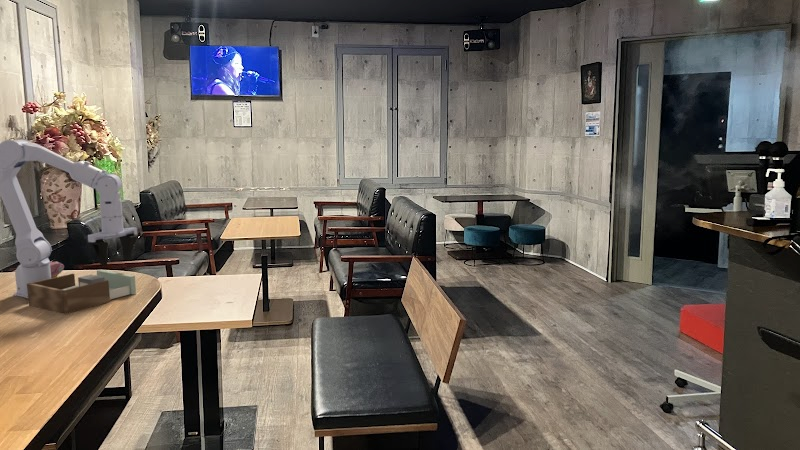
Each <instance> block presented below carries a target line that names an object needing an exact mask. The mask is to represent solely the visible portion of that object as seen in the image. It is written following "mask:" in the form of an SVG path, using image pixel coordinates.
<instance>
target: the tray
mask: <svg viewBox="0 0 800 450" xmlns="http://www.w3.org/2000/svg"><path fill="white" fill-rule="evenodd" d="M96 276H101V277H105V280H108V281H109V294H110V300H114V299H118V298H122V297H124V296H125V297H126V296H128V295H135V294H137V290H136V278H135V277H136V276H135V275H132V274H127V273H123V272H117V271H116V272H115V271H111V270H106V269H105V270H104V269H97V270H96ZM76 287H79V284H77V285H75V286H72V287H68V288H64V289H61V290H68V289H72V288H76Z"/></svg>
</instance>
